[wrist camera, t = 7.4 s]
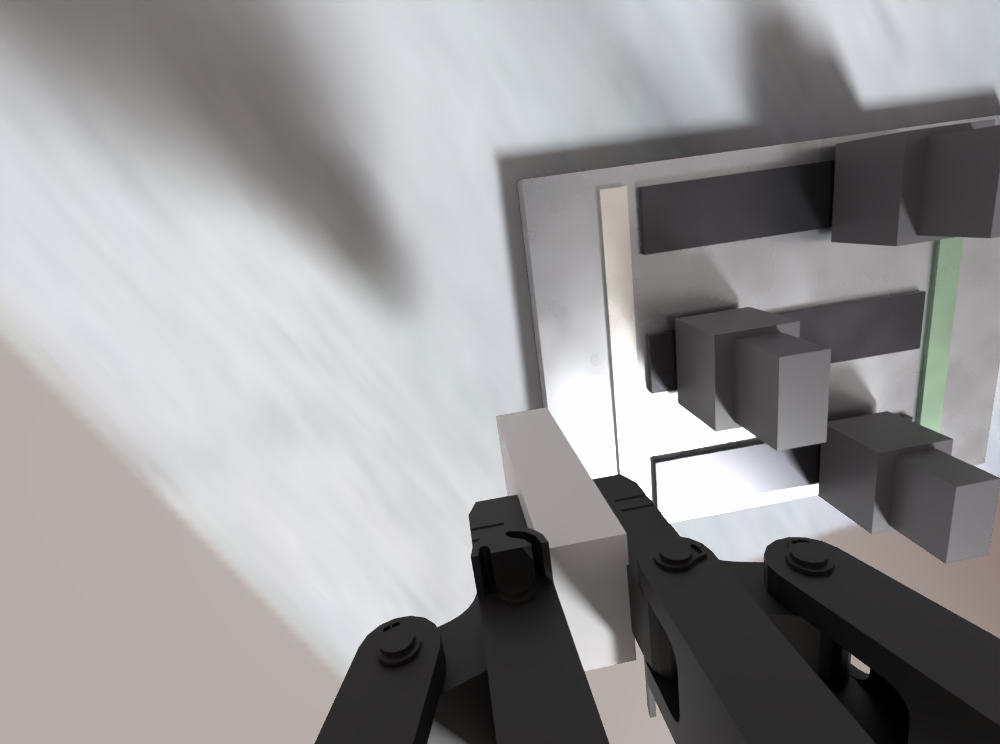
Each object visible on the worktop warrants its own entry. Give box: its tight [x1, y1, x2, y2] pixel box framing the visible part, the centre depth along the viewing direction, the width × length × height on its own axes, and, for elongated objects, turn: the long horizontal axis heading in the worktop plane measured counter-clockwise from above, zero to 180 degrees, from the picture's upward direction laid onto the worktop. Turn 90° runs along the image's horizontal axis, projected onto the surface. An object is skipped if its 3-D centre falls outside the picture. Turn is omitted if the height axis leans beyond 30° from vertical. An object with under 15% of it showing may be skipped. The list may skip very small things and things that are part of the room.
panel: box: [517, 115, 1000, 523], centre depth 22 cm, size 15×20×2 cm
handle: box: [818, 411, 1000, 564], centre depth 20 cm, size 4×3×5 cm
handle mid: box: [675, 307, 831, 451], centre depth 18 cm, size 4×3×5 cm
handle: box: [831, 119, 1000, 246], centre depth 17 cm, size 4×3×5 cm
